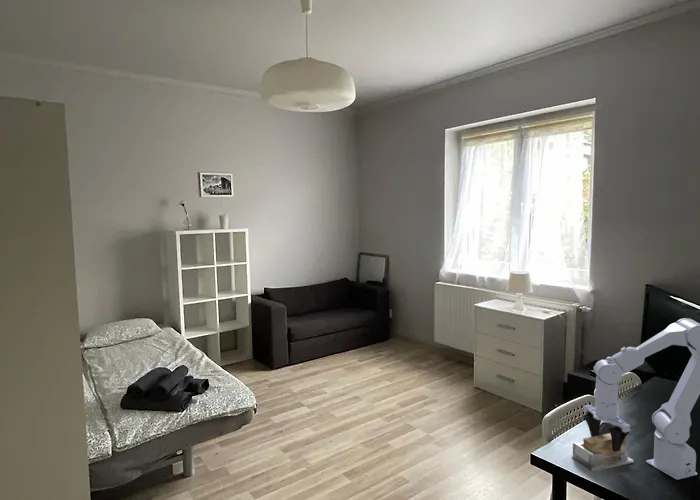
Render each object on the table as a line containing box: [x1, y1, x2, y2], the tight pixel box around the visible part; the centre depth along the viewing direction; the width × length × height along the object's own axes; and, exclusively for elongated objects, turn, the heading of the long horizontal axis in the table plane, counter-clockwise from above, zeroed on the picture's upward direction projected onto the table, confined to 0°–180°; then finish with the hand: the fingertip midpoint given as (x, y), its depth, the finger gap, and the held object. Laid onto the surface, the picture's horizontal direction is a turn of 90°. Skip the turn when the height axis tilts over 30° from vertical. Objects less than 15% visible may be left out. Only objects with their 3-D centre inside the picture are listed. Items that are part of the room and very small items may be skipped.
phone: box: [599, 421, 615, 435], centre depth 147 cm, size 8×1×15 cm
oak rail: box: [582, 433, 627, 457], centre depth 131 cm, size 13×3×5 cm, turn 107°
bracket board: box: [571, 441, 634, 473], centre depth 131 cm, size 15×8×5 cm, turn 106°
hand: (605, 444), depth 132 cm, fingers open, 7 cm apart
